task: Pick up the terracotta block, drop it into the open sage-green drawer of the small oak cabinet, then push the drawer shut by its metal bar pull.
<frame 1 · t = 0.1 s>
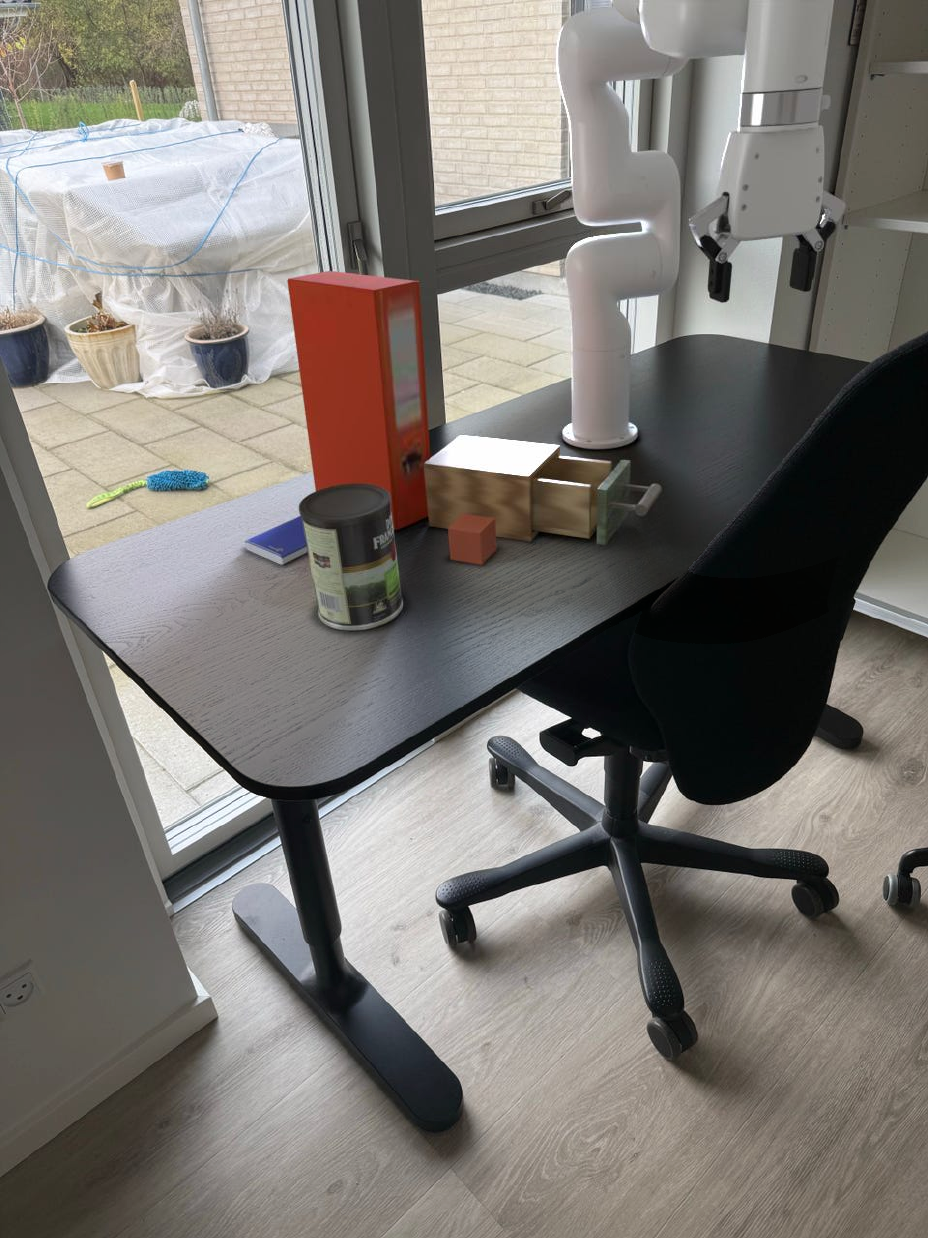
hand: (759, 294, 94), 31 cm above the table, tool pointing down, fingers open, 9 cm apart
drawer: (583, 497, 116), point 5 cm above the table, slide at 9.0 cm
cabinet: (495, 516, 124), on the table
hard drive: (300, 541, 122), on the table
coffee can: (360, 609, 105), on the table
file binder: (375, 508, 129), on the table
block: (473, 554, 115), on the table
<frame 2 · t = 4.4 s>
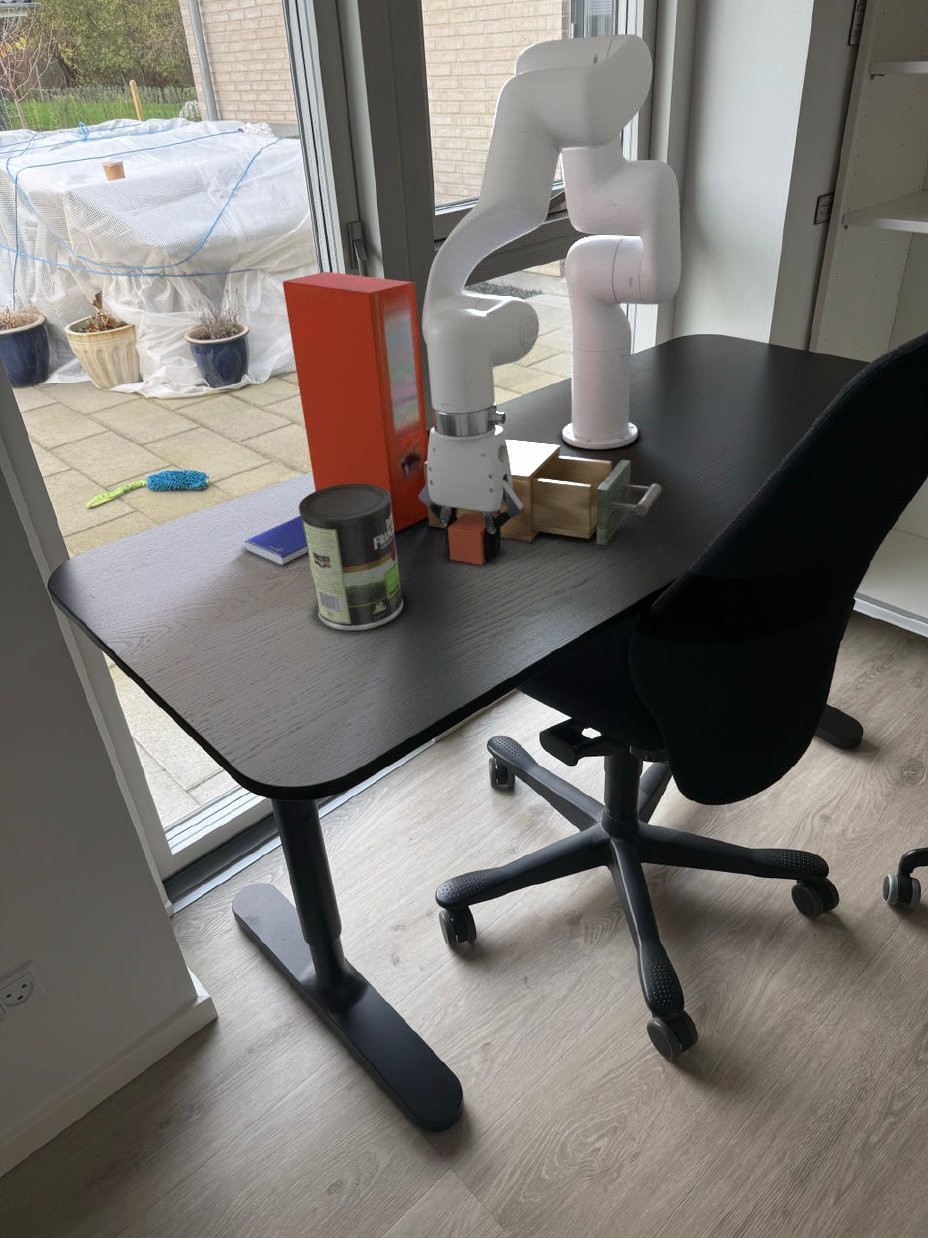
hand: (473, 552, 114), 0 cm above the table, tool pointing down, fingers closed on block, 4 cm apart
block: (473, 554, 115), on the table, touching gripper
everything else where it was.
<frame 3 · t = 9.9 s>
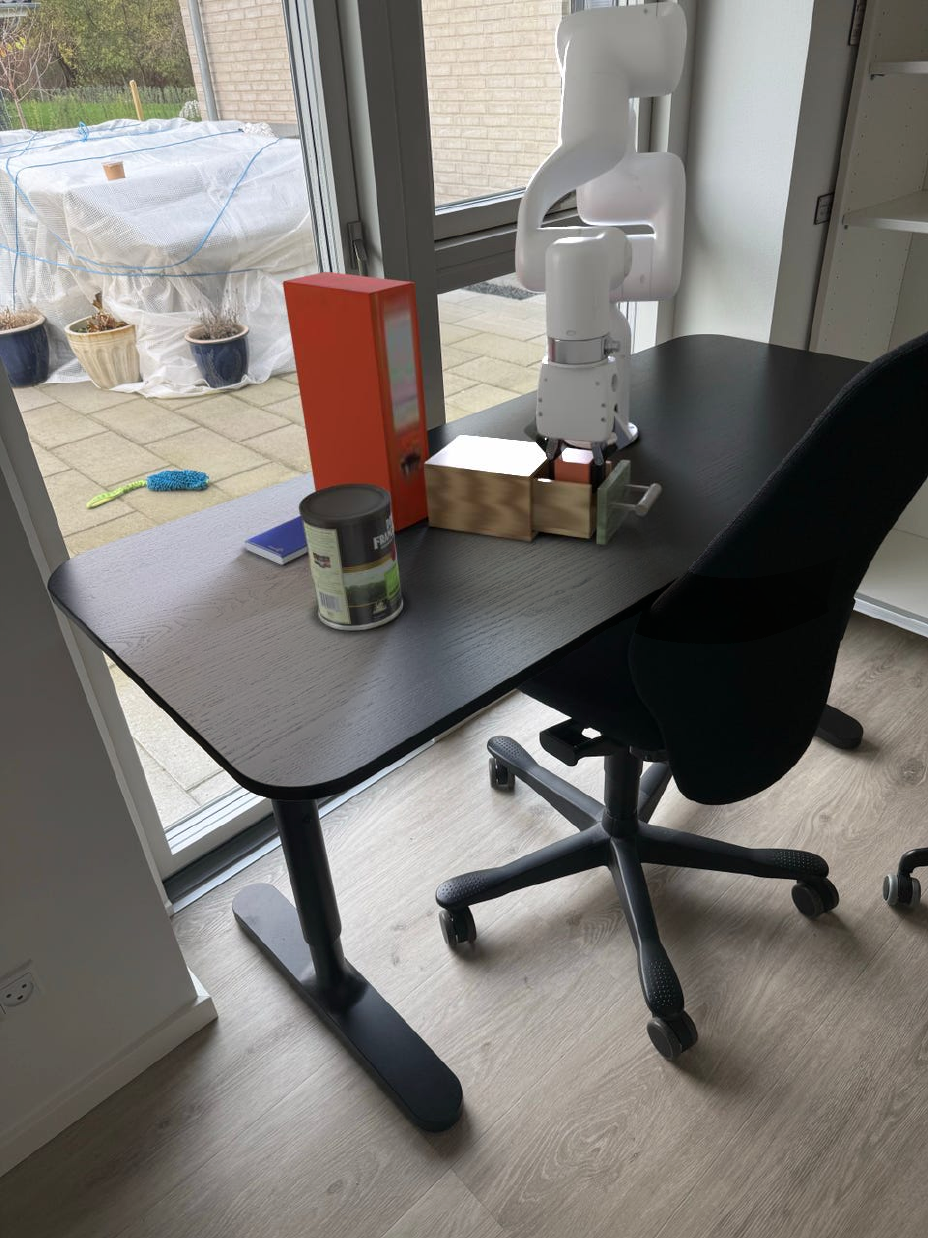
hand: (577, 485, 116), 6 cm above the table, tool pointing down, fingers closed on block, 4 cm apart
block: (577, 488, 116), point 6 cm above the table, touching gripper
everything else where it was.
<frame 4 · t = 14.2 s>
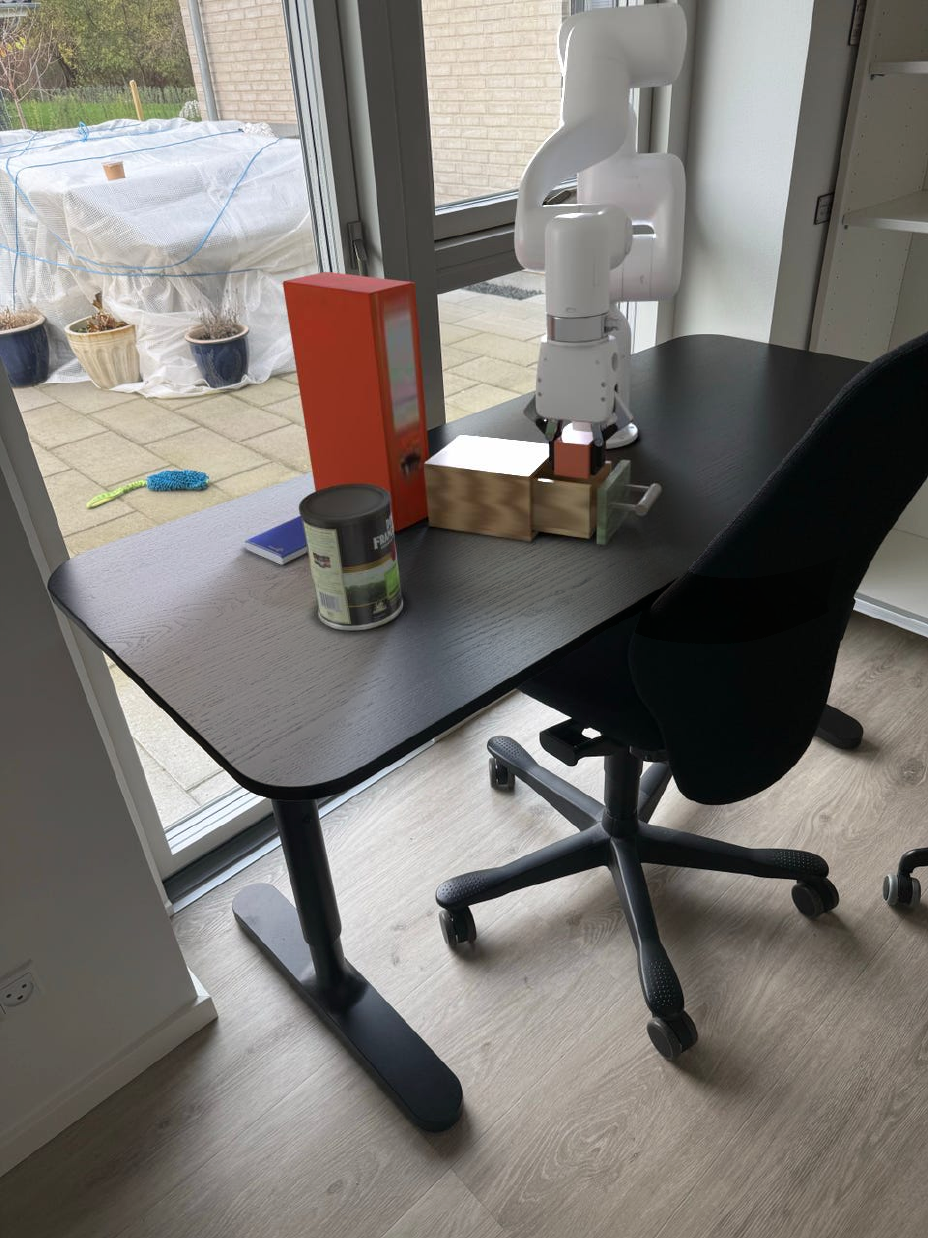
hand: (577, 467, 114), 9 cm above the table, tool pointing down, fingers closed on block, 4 cm apart
block: (577, 470, 114), point 8 cm above the table, touching gripper
everything else where it was.
when the fingers open (10 cm above the table, at t = 24.4 s): block drops 7 cm, resting on drawer.
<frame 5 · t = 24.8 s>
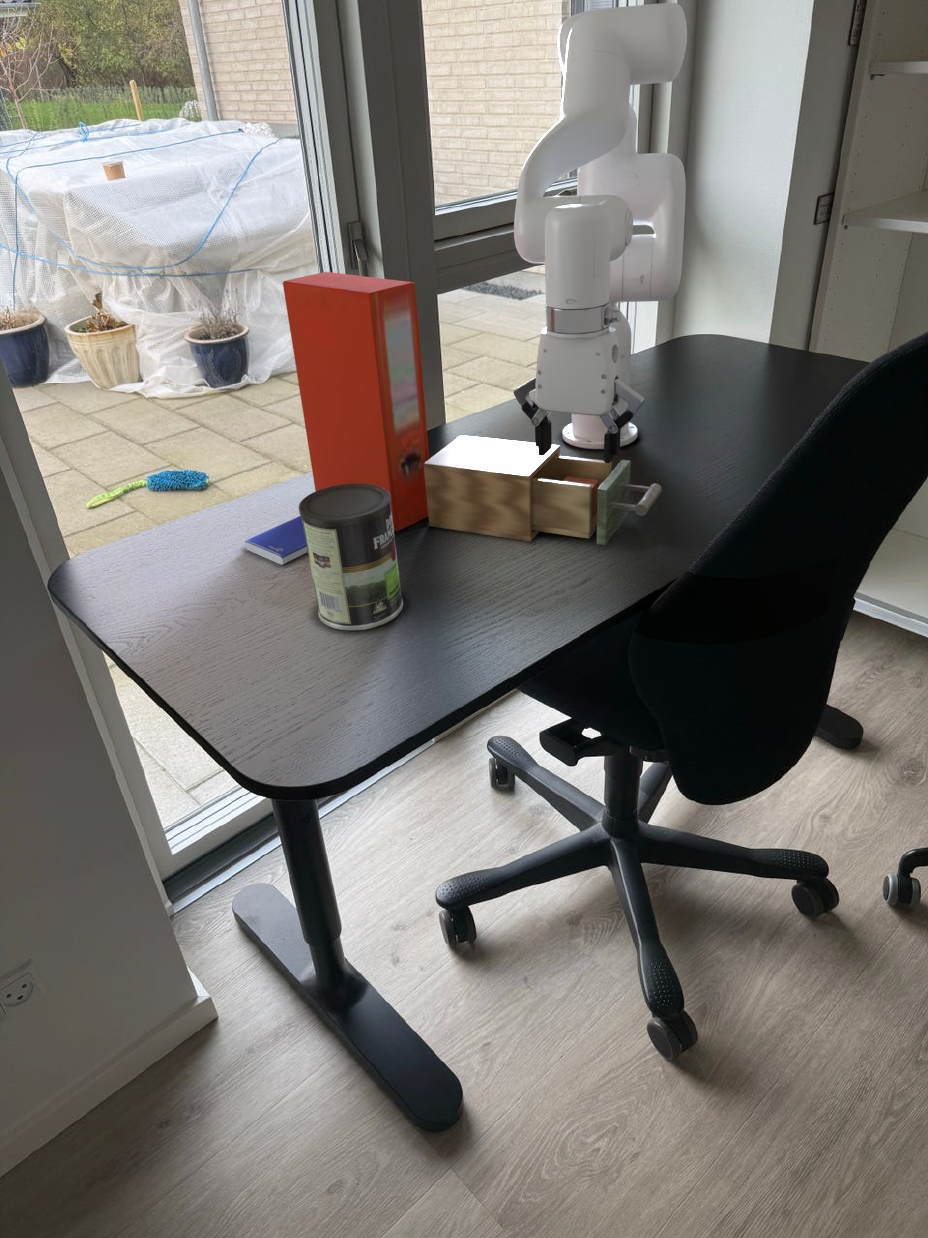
hand: (577, 455, 114), 11 cm above the table, tool pointing down, fingers open, 8 cm apart
drawer: (583, 497, 116), point 5 cm above the table, slide at 9.0 cm, touching block
block: (576, 515, 118), point 2 cm above the table, touching drawer
everything else where it was.
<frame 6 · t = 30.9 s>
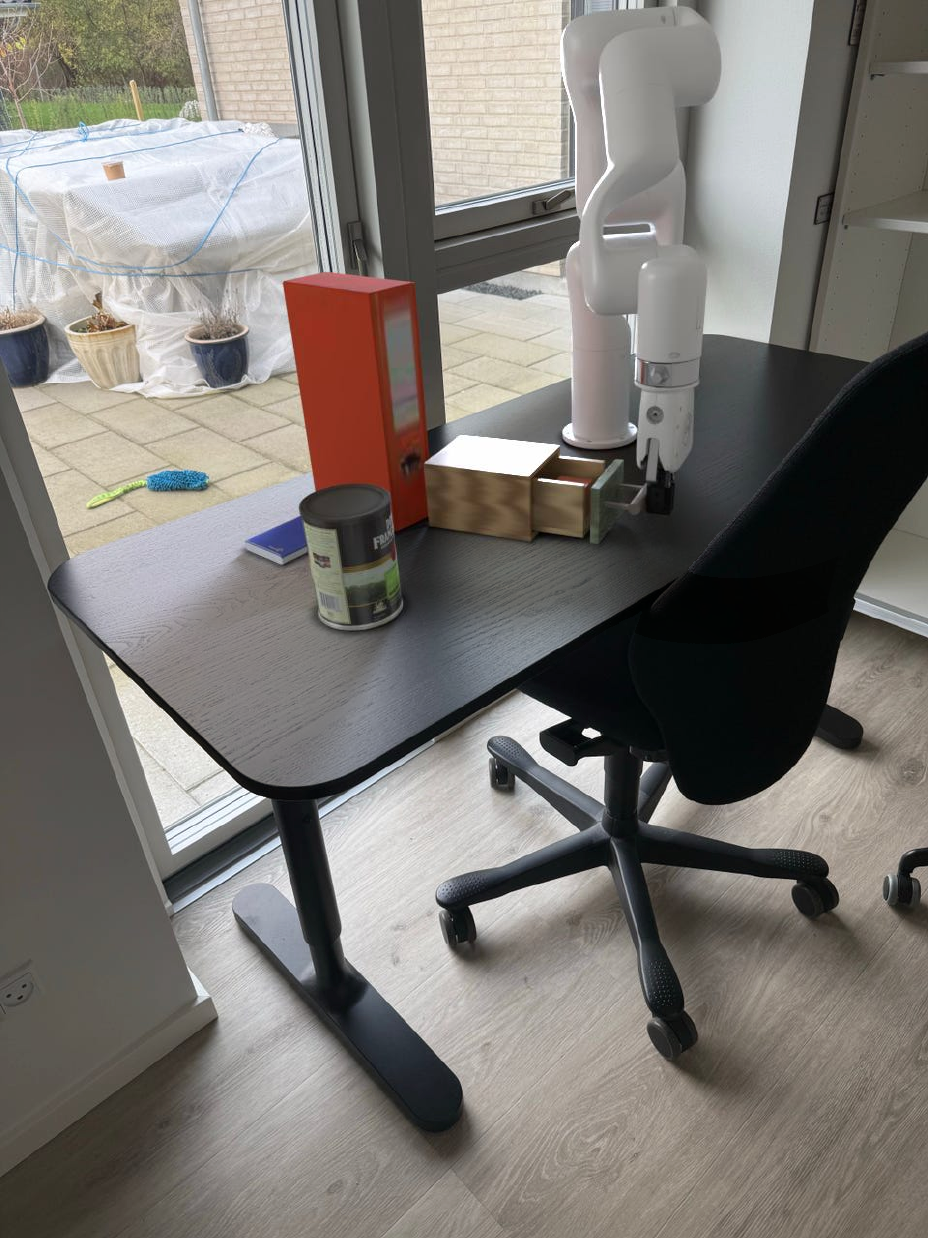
hand: (659, 511, 112), 4 cm above the table, tool pointing down, fingers closed
drawer: (577, 496, 117), point 5 cm above the table, slide at 8.1 cm, touching block, gripper
everything else where it was.
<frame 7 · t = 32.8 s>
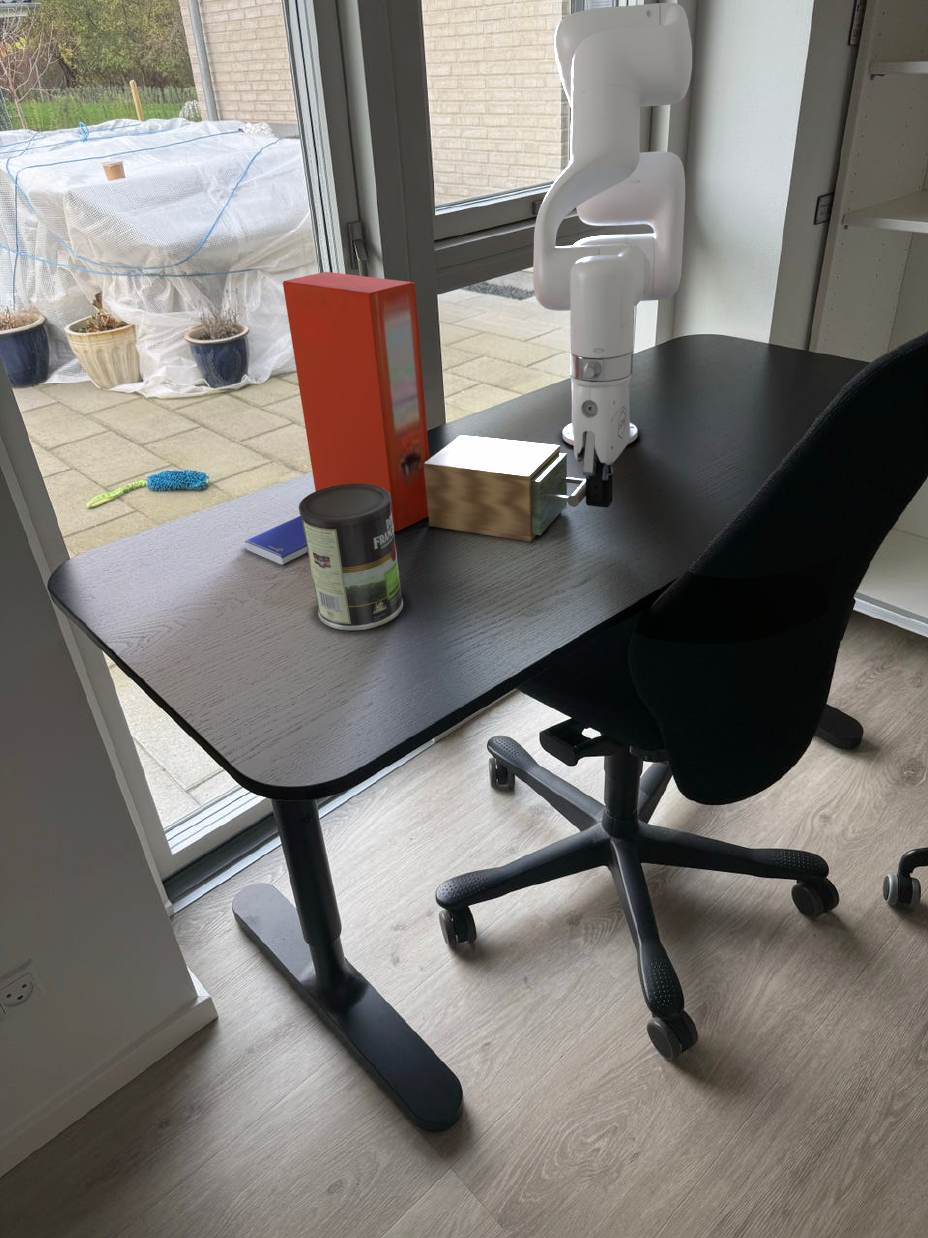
hand: (599, 503, 116), 4 cm above the table, tool pointing down, fingers closed
drawer: (521, 489, 120), point 5 cm above the table, slide at 0.0 cm, touching block, cabinet, gripper
block: (515, 507, 122), point 2 cm above the table, touching drawer
everything else where it was.
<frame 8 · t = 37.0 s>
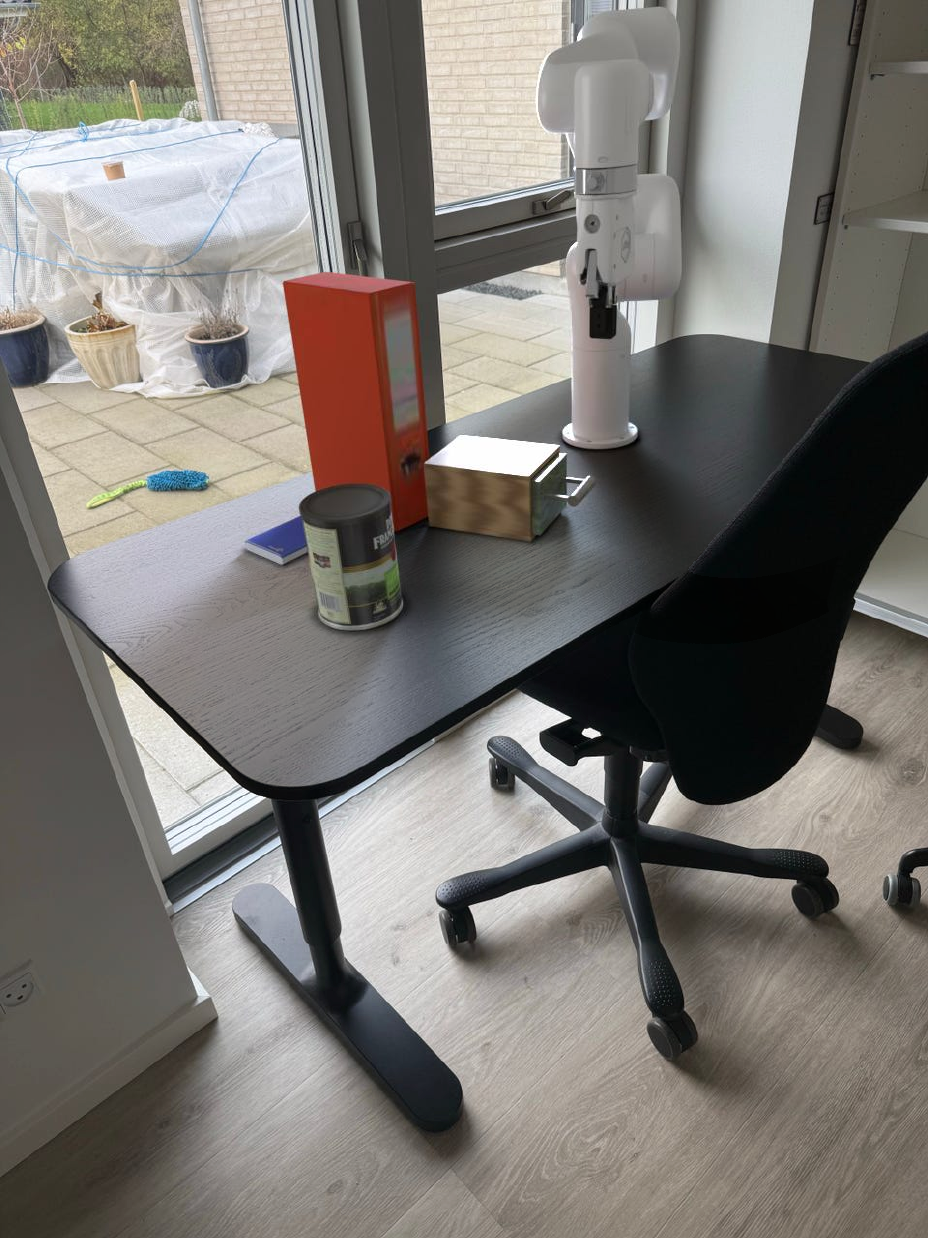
hand: (602, 336, 115), 23 cm above the table, tool pointing down, fingers closed
drawer: (521, 489, 120), point 5 cm above the table, slide at 0.0 cm, touching block, cabinet
everything else where it was.
at the end: block inside the target area in the cabinet (3.2 cm from its centre), point 1.9 cm above the cabinet's base; drawer slide at 0.0 cm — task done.
